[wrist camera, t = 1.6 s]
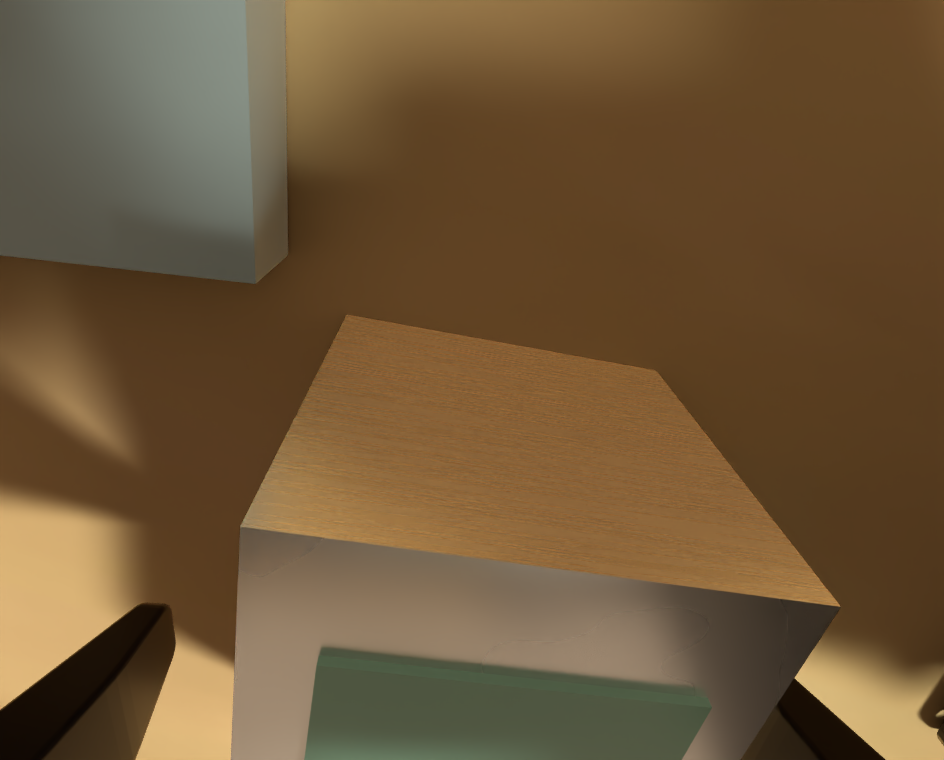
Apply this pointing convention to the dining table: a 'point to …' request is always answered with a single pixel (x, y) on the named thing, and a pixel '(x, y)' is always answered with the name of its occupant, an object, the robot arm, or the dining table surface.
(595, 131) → the dining table surface
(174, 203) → the pin tray
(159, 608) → the robot arm
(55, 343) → the dining table surface
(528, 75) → the dining table surface
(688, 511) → the block
